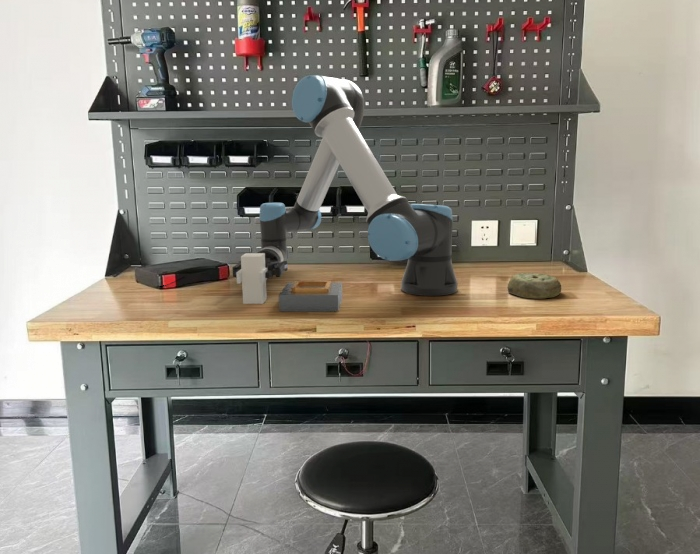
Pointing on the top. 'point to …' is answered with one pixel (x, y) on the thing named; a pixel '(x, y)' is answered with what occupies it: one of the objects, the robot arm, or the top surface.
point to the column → (253, 278)
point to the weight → (534, 286)
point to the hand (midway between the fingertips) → (249, 278)
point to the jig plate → (311, 296)
